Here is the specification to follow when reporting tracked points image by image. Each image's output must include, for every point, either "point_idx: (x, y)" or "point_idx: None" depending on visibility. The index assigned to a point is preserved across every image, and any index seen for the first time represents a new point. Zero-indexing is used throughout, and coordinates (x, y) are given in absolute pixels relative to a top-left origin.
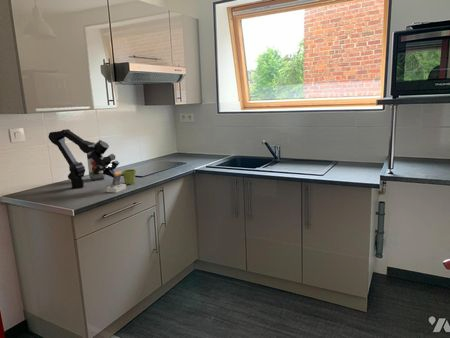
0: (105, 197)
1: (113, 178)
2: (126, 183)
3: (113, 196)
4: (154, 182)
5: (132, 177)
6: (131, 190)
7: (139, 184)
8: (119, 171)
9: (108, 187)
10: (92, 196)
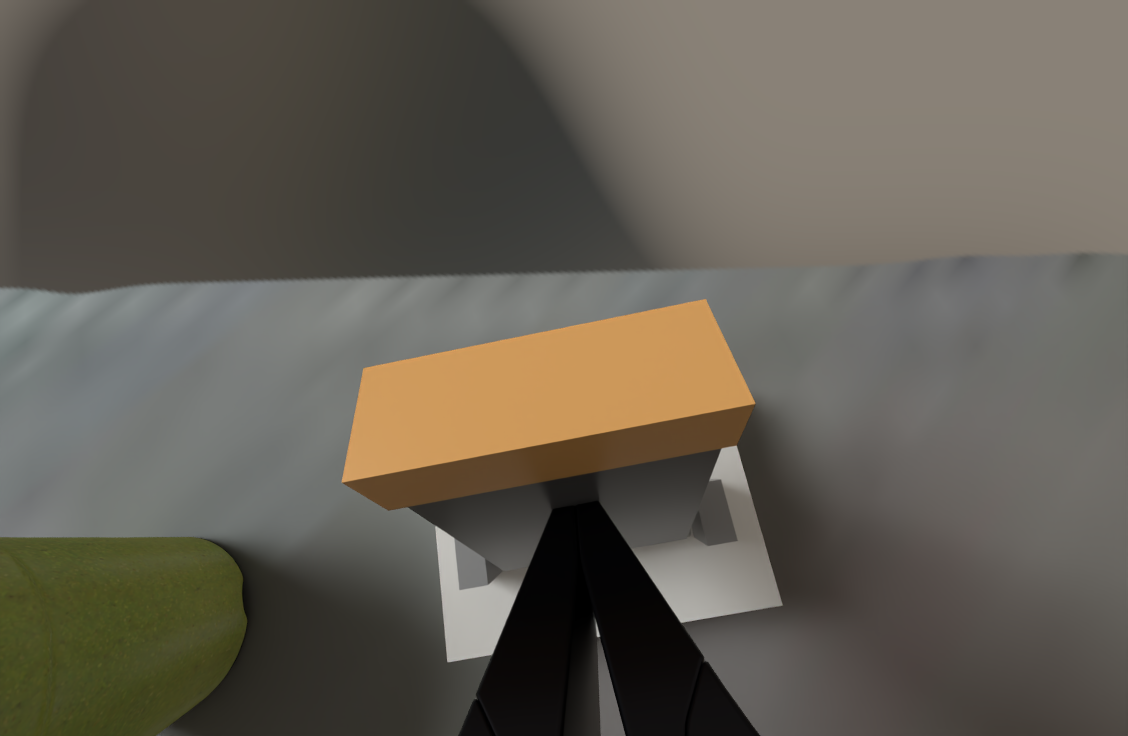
0: (970, 332)
1: (704, 487)
2: (235, 631)
3: (864, 271)
4: (80, 303)
5: (77, 542)
6: (521, 280)
7: (209, 418)
8: (358, 472)
9: (741, 578)
10: (1091, 586)
